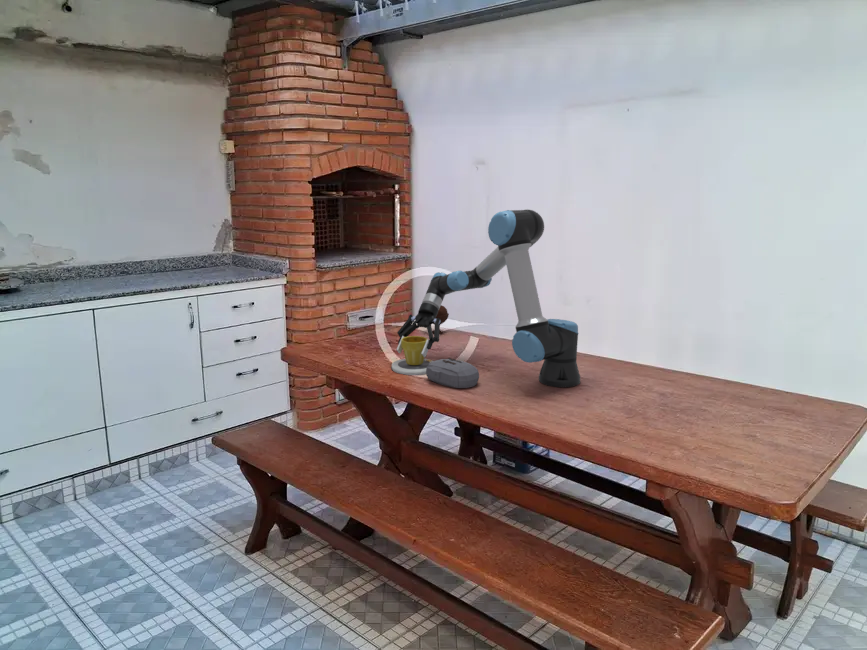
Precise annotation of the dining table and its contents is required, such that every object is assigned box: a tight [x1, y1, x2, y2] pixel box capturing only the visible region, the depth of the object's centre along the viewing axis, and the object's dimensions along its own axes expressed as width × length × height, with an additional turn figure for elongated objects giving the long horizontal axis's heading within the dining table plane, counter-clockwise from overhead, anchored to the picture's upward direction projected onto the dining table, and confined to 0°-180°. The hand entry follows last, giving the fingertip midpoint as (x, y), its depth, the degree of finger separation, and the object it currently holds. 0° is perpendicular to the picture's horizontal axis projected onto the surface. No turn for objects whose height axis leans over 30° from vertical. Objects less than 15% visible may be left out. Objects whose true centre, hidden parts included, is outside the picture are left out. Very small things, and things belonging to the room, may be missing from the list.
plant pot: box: [401, 335, 428, 365], centre depth 257 cm, size 10×10×10 cm
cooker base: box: [391, 358, 434, 376], centre depth 258 cm, size 18×18×2 cm
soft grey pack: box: [425, 357, 480, 389], centre depth 241 cm, size 15×8×20 cm
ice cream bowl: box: [432, 304, 450, 335], centre depth 313 cm, size 11×11×15 cm
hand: (410, 353), depth 254 cm, fingers open, 10 cm apart
